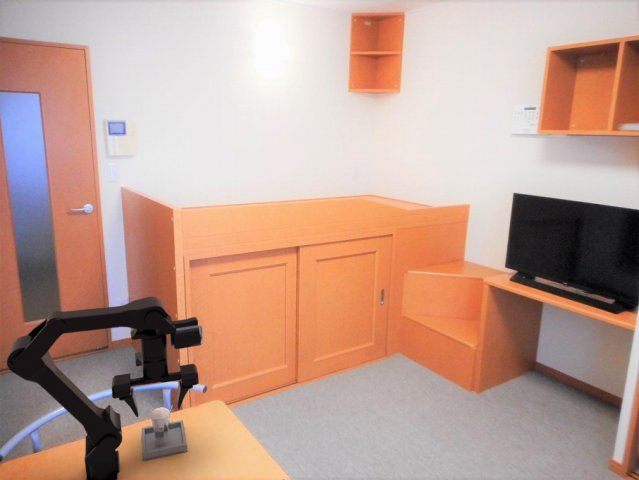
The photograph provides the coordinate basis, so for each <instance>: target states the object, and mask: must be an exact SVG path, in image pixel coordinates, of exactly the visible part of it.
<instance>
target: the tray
mask: <svg viewBox="0 0 639 480" xmlns="http://www.w3.org/2000/svg"><path fill="white" fill-rule="evenodd" d="M141 448H142V449H141V450H142V451H141V454H142V461H143V462H144V461H149V460H154V459H159V458H164V457H168V456H173V455H178V454H182V453H186V452H188V444H187V436H186V430H185V424H184V420H183V419H182V420H176V421H171V422H169V441H168V443H166V444H165V445H156V443H155V438H154V431H153V425H151V426H145V427H142V428H141Z"/></svg>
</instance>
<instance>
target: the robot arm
mask: <svg viewBox="0 0 639 480" xmlns="http://www.w3.org/2000/svg"><path fill="white" fill-rule="evenodd" d="M116 328H129V329H132V330H130V339H131V340H132V341H135V340H136V341H137V340H139V345H140V351H136V352H135V356H134V357H135V367H141V371H142V377H136V378H132V373H130V372H129V373H124V374H118V375H114V376H113V378H111V379H112V380H111V381H112V382H111V395H112V396H111V398H112V399H116V400H117V399H118V400H119V401H123V402H125V404H127V405H128V406H129V408H130V409H131V410H132V412H133V414H134V415H135V417H136V418H139V407H138V403H137V398H136V394H135V389H134V388H141V387H146V386H147V387H148V386H152V385H153V386H154V385H159V384H164V383H169V382H176V381H178V382H177V384H178V386H177V395H176V396H177V398H176V406H177V410H180V409H181V407H182V404H183V403H184V402H183V401H184V399H185V397H186V395H187V393H188V391H190V389H193V388H194V386H197V385H198V384H199V380H200V379H199V372H198V368H197V365H196V364H195V363H189V364H182V365H179V367H178V368H179V369H178V370H179V371H174V372H169V370H170V369H169V355H168V354H169V353H168V341H169V346H170V347H173V349H174V350H176V351H177V350H182V349H183V350H184V349H186V348H192V347H198V346H199V347H200V346H201V345H202V335H201V331H200V327H199V320H198V318H197V317H196V316H193V317H190V318H189V317H188V318H186V319H185V318H183V319H178V320H177V319H176V320H173V318H172V316H171V315H170V314H169V313H168V312H167V311H166V309H165V306H164V304H163V302H162V301H161V300H160V299H159V298H158V297H156V296H147V297H143V298H139V299H135V300H132V301H130V302H128V303H125V304H123V305H118V306H116V305H115V306H108V307H107V306H106V307H99V308H98V307H97V308H87V309H86V308H85V309H78V310H77V309H76V310H67V311H65V310H64V311H61V310H56V311H53V312H51V313H50V314H49V315H48V316H47V317H46V318H45V319H44V320H42V321H41V322H39V324H38V325H35V326H34V328H32V329H31V330H30V332H28V333H27V334H26V335H22V336H20V337H18V338H16V339H15V340H14V341H13V343H12V345H11V347H10V351H9V354H8V355H7V359H6V366H7V368H8V370H9V371H10V372H12V373H13V374H14V375H16V376H18V377H19V378H21V379H23V380H25V381H28V382H31V383H35V384H37V385H39V386H40V388H42V389H43V390H44V391H45V392H46V393H48V395H49V396H51V398H52V399H54V400H55V401H56V402H57V403H58V404H59V405H60V406H61V407H62V408H63V409H65V411H67V412H68V413H69V414H70V415H71V416H72V417H73V418H74V419H75V420H76V421H78V423H79V424H80V425H82V427H83V429H84V431H85V433H86V436H85V437H84V438H85V441H84V442H85V445H84V447H85V449H84V451H85V452H84V466H85V467H84V469H85V477H86V478H85V480H118V474H119V473H120V472H121V471H120V468H121V467H120V466H121V465H120V464H121V462H120V451H119V450H118V448H119V447H120V445H121V444H122V443H123V431H122V430H123V429H122V420H121V414H120V413H118V412H116V411H115V409H114V408H113V407H112V405H110V404H108V405H107V406H106V407H105V408H102V407H99V406H97V405H96V403H94V402H93V401H92V399H90V398H89V397H88V396H87V395H86V394H85V393H84V392H83V391H82V390H81V389H80V388H79V387H78V386H77V385H76V384H75V383H74V382H73V381H72V380H70V378H69V377H67V375H66V374H64V372H62V370H61V369H59V367H57V365H56V364H55V362H54V360H53V357H52V355H51V353H50V351H49V350H50V349H51V348H52V347H53V345H55V343H56V342H57V341H58V340H59V338H60V337H61V336H62V335H64V334H74V333H82V332H89V331H90V332H92V331H98V330H107V329H116ZM167 335H168V341H167Z"/></svg>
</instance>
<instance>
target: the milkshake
mask: <svg viewBox="0 0 639 480" xmlns="http://www.w3.org/2000/svg"><path fill="white" fill-rule="evenodd" d="M173 406H174V405H173V404H172V405H171V408H170V410H169V409H168V408H167V407H156V408H155V409H154V410H152V411H151V413H150V419H151V424H152V425H151V426H153V431H154V438H155V443H156V445H165V444H166V443H168V441H169V423H170V416H171V411H172V409H173Z"/></svg>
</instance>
